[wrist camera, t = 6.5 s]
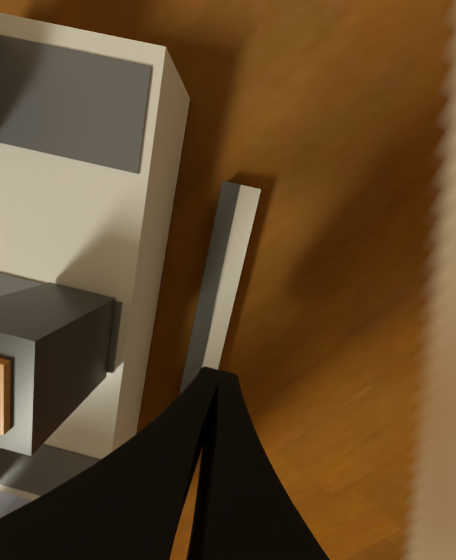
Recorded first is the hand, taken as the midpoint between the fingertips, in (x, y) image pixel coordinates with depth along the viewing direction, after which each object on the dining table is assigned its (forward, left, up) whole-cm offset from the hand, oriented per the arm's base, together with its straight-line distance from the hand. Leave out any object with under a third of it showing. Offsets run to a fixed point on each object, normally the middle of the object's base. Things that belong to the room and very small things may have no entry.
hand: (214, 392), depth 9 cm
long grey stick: (0, +1, -5) cm, 6 cm away
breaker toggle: (0, +7, -2) cm, 7 cm away
